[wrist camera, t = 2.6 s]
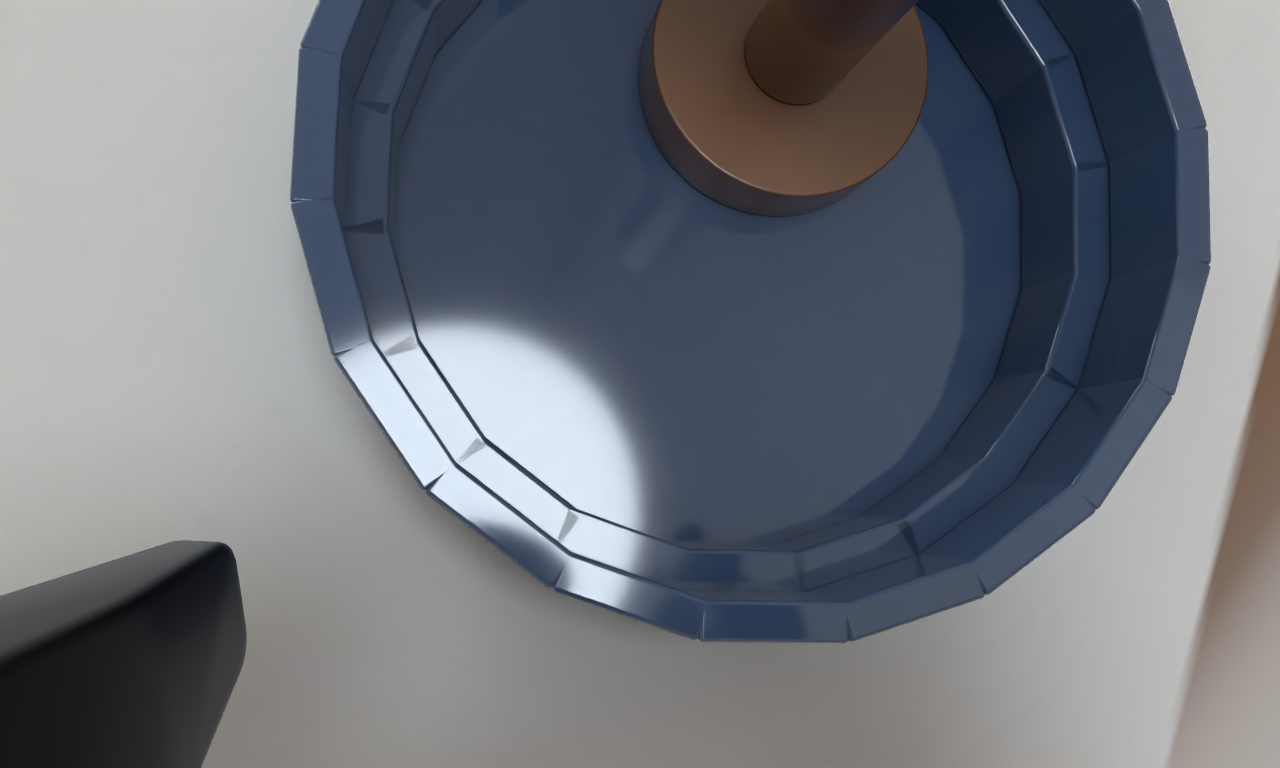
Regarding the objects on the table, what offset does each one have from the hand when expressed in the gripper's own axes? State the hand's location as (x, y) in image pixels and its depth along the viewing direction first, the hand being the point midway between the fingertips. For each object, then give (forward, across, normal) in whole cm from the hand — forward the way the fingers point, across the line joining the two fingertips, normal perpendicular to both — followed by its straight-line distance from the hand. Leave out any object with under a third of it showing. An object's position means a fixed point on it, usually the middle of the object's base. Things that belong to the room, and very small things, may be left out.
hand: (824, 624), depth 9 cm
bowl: (+14, 0, -2) cm, 14 cm away
